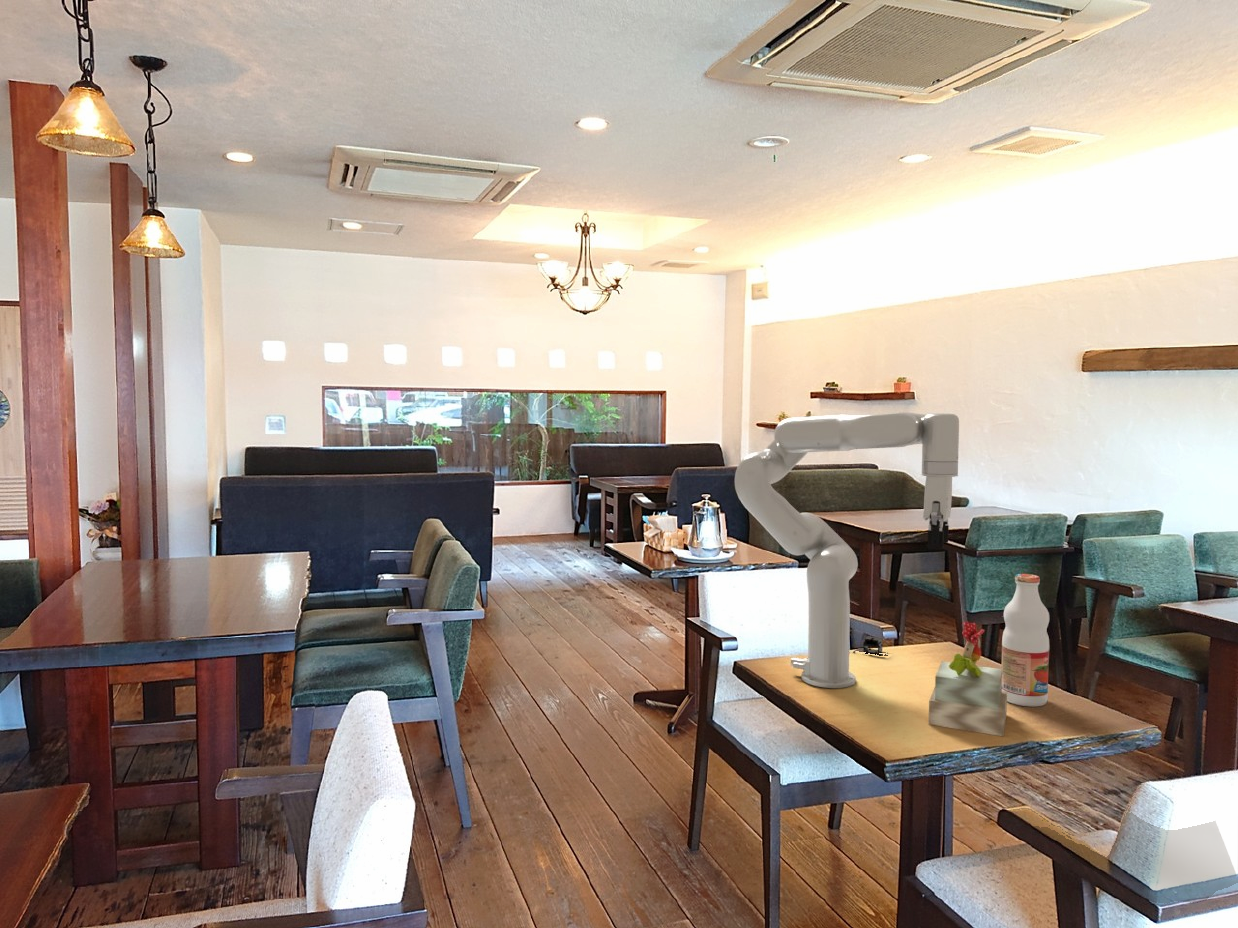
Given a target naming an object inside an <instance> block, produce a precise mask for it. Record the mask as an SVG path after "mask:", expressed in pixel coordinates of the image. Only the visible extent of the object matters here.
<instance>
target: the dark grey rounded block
mask: <svg viewBox="0 0 1238 928" xmlns="http://www.w3.org/2000/svg"><path fill="white" fill-rule="evenodd" d="M862 645H863V647H862V648H861V647H858V648H857V649H856V650H854V651H859V652H866V653H865V654H868V653H870V654H875V655H876V654H877V655H879V656H883V654H879V653H886V652H885V651H883V647H884V644H883V641H882V637H876V636H869V635H868V636H866V637H865V638H864V641H863V643H862ZM870 647H873V648H870ZM874 648H875V649H874ZM854 651H852V652H853V653H852V654H855V652H854ZM884 656H888V655H886V654H885V655H884Z"/></svg>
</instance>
